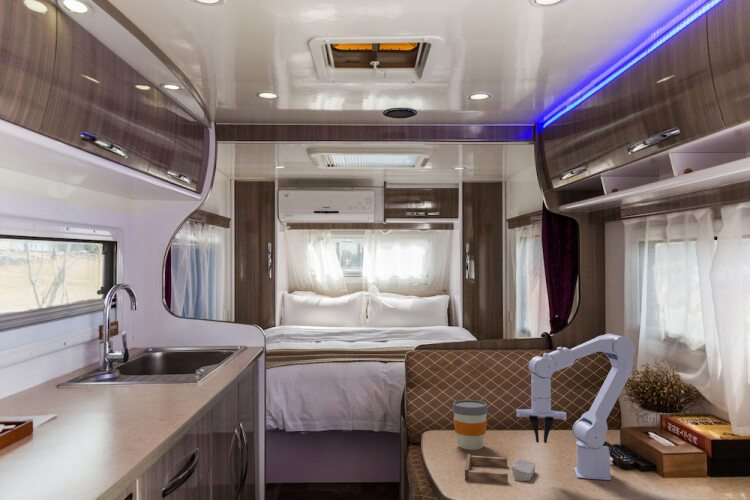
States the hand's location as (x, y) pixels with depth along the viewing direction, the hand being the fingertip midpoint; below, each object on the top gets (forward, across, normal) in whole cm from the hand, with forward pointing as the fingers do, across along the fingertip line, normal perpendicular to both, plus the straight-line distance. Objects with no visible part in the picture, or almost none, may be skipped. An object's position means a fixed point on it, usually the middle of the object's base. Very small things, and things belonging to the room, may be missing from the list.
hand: (541, 441), depth 168 cm
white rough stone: (+11, -5, 0) cm, 12 cm away
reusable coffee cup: (+11, -23, +27) cm, 37 cm away
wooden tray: (+11, -16, 0) cm, 19 cm away
